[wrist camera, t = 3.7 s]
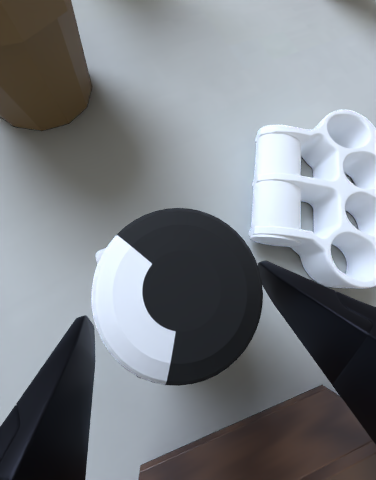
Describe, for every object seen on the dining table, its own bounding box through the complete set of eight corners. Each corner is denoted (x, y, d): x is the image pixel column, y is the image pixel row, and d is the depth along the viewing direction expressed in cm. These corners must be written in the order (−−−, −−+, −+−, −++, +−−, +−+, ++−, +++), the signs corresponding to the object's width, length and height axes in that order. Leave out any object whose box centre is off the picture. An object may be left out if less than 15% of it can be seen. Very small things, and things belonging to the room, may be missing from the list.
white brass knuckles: (253, 118, 23) (369, 142, 24) (241, 274, 19) (382, 295, 20) (267, 91, 20) (401, 120, 21) (257, 272, 16) (424, 297, 17)
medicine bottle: (192, 235, 19) (233, 161, 7) (223, 306, 18) (328, 349, 6) (120, 263, 18) (33, 227, 6) (148, 342, 17) (107, 478, 5)
